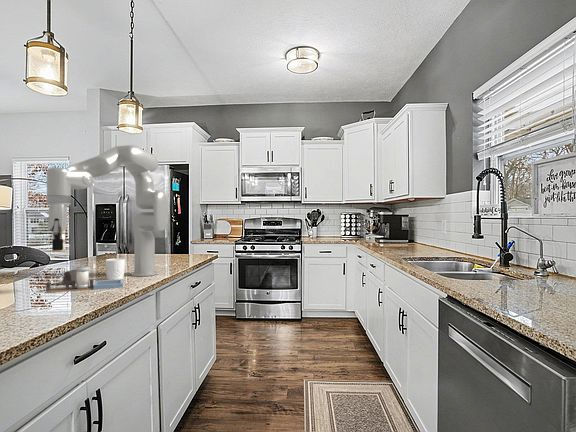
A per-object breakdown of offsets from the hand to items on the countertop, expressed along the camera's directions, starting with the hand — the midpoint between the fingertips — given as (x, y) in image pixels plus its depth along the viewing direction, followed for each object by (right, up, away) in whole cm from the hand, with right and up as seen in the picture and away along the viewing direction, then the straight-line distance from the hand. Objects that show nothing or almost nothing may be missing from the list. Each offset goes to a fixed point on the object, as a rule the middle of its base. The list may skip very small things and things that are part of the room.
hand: (58, 248), depth 129 cm
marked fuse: (0, -1, 0) cm, 1 cm away
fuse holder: (+4, -17, +1) cm, 17 cm away
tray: (+15, -17, +7) cm, 24 cm away
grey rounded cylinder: (+7, -15, +3) cm, 17 cm away
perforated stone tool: (-3, -17, +16) cm, 24 cm away
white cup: (+9, -17, +25) cm, 32 cm away
